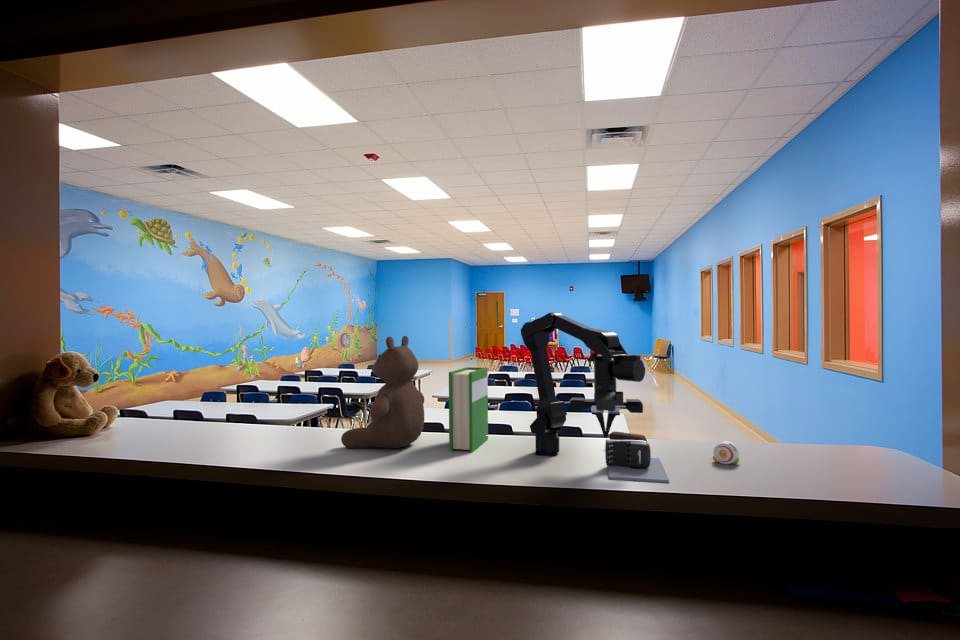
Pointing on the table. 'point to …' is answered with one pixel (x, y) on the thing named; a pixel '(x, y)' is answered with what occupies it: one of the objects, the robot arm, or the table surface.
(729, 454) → the sushi roll
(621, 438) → the brick
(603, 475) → the table surface
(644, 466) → the battery charger
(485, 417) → the hardback book
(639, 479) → the mat
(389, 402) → the stuffed bear
